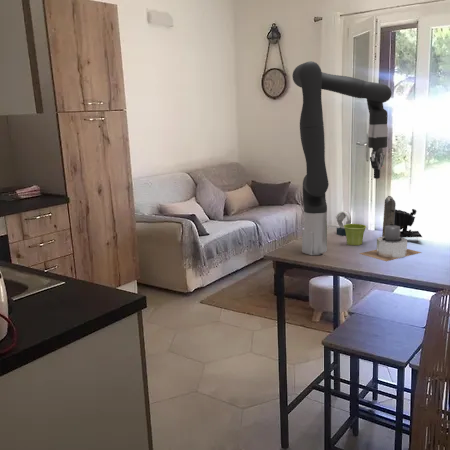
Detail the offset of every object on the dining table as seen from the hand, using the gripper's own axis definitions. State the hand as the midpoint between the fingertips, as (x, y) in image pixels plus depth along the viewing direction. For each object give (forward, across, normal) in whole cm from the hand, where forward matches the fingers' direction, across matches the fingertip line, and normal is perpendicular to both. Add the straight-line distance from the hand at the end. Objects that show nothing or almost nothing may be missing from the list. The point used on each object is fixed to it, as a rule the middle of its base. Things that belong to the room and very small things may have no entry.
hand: (376, 178), depth 206 cm
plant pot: (+29, +3, -8) cm, 30 cm away
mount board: (+29, +12, +9) cm, 33 cm away
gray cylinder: (+25, +13, +10) cm, 30 cm away
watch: (+29, -15, -19) cm, 38 cm away
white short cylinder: (+28, +13, +10) cm, 33 cm away
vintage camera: (+29, -12, +8) cm, 33 cm away
